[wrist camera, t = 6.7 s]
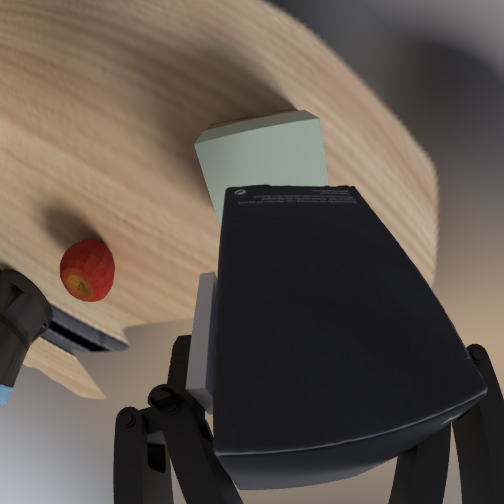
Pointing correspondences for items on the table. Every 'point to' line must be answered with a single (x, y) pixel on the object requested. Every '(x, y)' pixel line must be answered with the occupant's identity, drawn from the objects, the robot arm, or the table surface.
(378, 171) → the table surface
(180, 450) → the robot arm
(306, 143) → the tower top
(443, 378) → the small box
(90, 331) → the table surface
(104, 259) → the apple
